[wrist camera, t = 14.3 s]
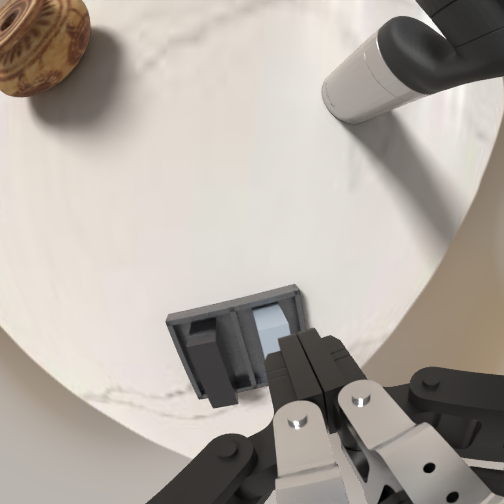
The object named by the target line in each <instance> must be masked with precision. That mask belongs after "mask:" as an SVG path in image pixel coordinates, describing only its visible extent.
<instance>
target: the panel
mask: <svg viewBox="0 0 504 504" xmlns="http://www.w3.org/2000/svg"><path fill="white" fill-rule="evenodd" d="M252 311H253V315H254V319H255V322H256V326H257V330H258V334H259V338H260V342H261V346H262V350H263V354H264V358H265V359H266V357H267V354H270V353H273V352H277V351H280V348H279V344H278V340H277V338H281V337H284V336H288V335H290V329H289V324H288V322H287V320H286V318H285V316H284V314H283V312H282V310H281V308H280V306H279V304H278V303H274V304H270V305H266V306H262V307H258V308H255V309H252Z"/></svg>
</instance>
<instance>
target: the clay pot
mask: <svg viewBox="0 0 504 504" xmlns="http://www.w3.org/2000/svg"><path fill="white" fill-rule="evenodd" d="M90 31H91V26H90V17H89V13H88V10H87V8H86V6H85V4H84V2H83V1H82V0H9V1H8V2H7V3H6V4H5V5H4V6H3V7H2V8H1V9H0V90H1V91H2V92H3V93H5V94H6V95H9V96H13V97H29V96H34V95H37V94H40V93H43V92H45V91H47V90H49V89H51V88H52V87H54V86H55V85H57V84H58V83H59V82H61V81H62V80H63V79H64V78H65V77H66V76H67V75H68V74H69V73H70V72H71V71H72V70H73V69H74V68H75V66H76V65H77V64H78V62H79V61H80V59H81V58H82V56H83V54H84V52H85V50H86V48H87V45H88V42H89V38H90Z"/></svg>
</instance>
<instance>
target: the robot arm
mask: <svg viewBox="0 0 504 504" xmlns="http://www.w3.org/2000/svg"><path fill="white" fill-rule="evenodd" d="M416 2H417V3H418V4H419V5H420V7H421V8H422V9H423V10H424V11H425V12H426V14H427V15H428V16H429V17H430V18H431V19H432V21H433V22H434V23H435V25H436V26H437V27H438V28H439V30H440V31H441V32H442V34H443V35H444V36H445V38H446V39H445V38H444V37H443V36H441V35H440V34H439V33H437V32H436V31H435V30H433V29H432V28H431V27H429V26H428V25H426V24H425V23H423V22H421V21H419V20H417V19H415V18H411V17H407V16H398V17H394V18H392V19H391V20H389V21H388V22H386V23H385V24H384V25H383V26H382V27H381V28H380V29H378V30H377V31H376V32H375V33H374V34H373V35H372V36H371V37H369V38H368V39H367V40H366V41H365V42H364V43H363V44H362V45H361V46H360V47H359V48H357V49H356V50H355V51H354V52H353V53H352V54H351V55H350V56H349V57H348V58H347V59H346V60H345V61H344V62H343V63H342V64H341V65H339V66H338V67H337V68H336V69H335V70H334V71H333V72H332V73H331V74H330V75H329V76H328V77H327V78H326V79H325V81H324V83H323V86H322V97H323V100H324V103H325V105H326V106H327V108H328V110H329V111H330V112H331V113H332V114H333V115H334V116H335V117H337V118H338V119H340V120H342V121H344V122H347V123H351V124H358V123H362V122H364V121H367V120H369V119H371V118H374V117H376V116H378V115H381V114H383V113H386V112H388V111H390V110H393V109H395V108H398V107H400V106H403V105H405V104H408V103H410V102H413V101H416V100H418V99H421V98H423V97H426V96H429V95H431V94H435V93H437V92H440V91H443V90H447V89H450V88H453V87H456V86H459V85H463V84H467V83H471V82H475V81H480V80H485V79H491V78H497V77H502V76H504V0H416ZM277 340H278V344H279V348H280V351H277V352H273V353H270V354H267V357H266V359H265V362H264V366H265V371H266V376H267V380H268V385H269V389H270V394H271V398H272V403H273V408H274V416H273V419H272V421H271V422H270V424H269V425H268V426H267V427H266V428H265V429H263V430H262V431H260V432H258V433H256V434H254V435H252V436H250V437H248V438H247V437H245V436H243V435H240V434H231V433H230V434H224V435H221V436H218V437H217V438H215V439H213V440H212V441H211V442H210V443H209V444H208V445H207V446H206V447H205V448H204V449H203V450H202V451H201V452H200V453H199V454H198V455H197V456H196V457H195V458H194V459H193V460H192V461H191V462H190V463H189V464H188V465H187V466H186V467H185V468H184V469H183V470H182V471H181V472H180V473H179V474H178V475H177V476H176V477H175V478H174V479H173V480H172V481H170V482H169V483H168V484H167V485H166V486H165V487H164V488H163V489H162V490H161V491H160V492H158V493H157V494H156V495H155V496H154V497H153V498H152V499H151V500H149V501H148V502H147V503H146V504H264V503H265V501H266V500H267V499H268V497H269V496H270V495H271V493H272V491H273V490H275V489H276V499H277V504H349V501H348V497H347V493H346V490H345V486H344V482H343V479H342V475H341V472H340V469H339V466H338V464H336V461H335V458H334V455H333V451H332V448H331V444H330V441H329V437H328V431H329V434H332V433H336V432H337V433H338V435H339V437H340V439H341V448H342V451H343V452H344V454H345V456H346V458H347V460H348V461H349V463H350V465H351V467H352V469H353V470H354V472H355V474H356V475H357V478H358V479H359V481H360V483H361V485H362V487H363V489H364V492H365V497H366V500H367V502H368V504H504V470H495V469H487V468H481V467H474V466H468V465H467V464H466V463H465V462H464V461H463V460H462V459H461V457H463V458H469V459H476V460H485V461H494V462H504V376H503V375H493V374H484V373H475V372H467V371H460V370H453V369H446V368H440V367H426V368H423V369H421V370H419V371H417V372H416V373H415V374H414V375H413V376H412V378H411V380H410V383H409V384H404V385H399V386H394V387H382V386H381V385H379V384H378V383H377V382H374V381H371V380H368V379H367V378H366V376H365V375H364V374H363V372H362V371H361V369H360V368H359V366H358V365H357V363H356V362H355V361H354V359H353V358H352V356H350V354H349V352H348V351H347V349H346V348H345V346H344V345H343V344H342V342H341V341H340V340H339V339H337V338H335V337H333V336H331V335H329V336H326V337H323V338H321V337H320V336H319V334H318V332H317V331H316V329H315V328H311V329H308V330H304V331H301V332H298V333H296V334H291V335H288V336H284V337H281V338H277ZM327 429H328V431H327Z"/></svg>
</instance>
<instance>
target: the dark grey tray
mask: <svg viewBox="0 0 504 504" xmlns="http://www.w3.org/2000/svg"><path fill="white" fill-rule="evenodd" d="M274 303H278V304H279V306H280V308H281V310H282V312H283V314H284V316H285V318H286V320H287V322H288V324H289V329H290V335H291V334H296V333H298V332H301V331H304V330H306V326H305V320H304V314H303V308H302V302H301V296H300V291H299V289H298V287H297V286H296V285H295V284H293V285H289V286H285V287H281V288H278V289H274V290H270V291H266V292H262V293H258V294H254V295H250V296H246V297H242V298H238V299H234V300H230V301H225V302H221V303H217V304H213V305H208V306H204V307H200V308H195V309H191V310H186V311H182V312H177V313H172V314H168V317H167V319H166V325H167V327H168V330H169V332H170V335H171V337H172V340H173V342H174V345H175V347H176V350H177V352H178V354H179V357H180V359H181V361H182V364H183V366H184V368H185V371H186V373H187V375H188V377H189V379H190V382H191V384H192V386H193V388H194V390H195V392H196V394H197V397H198V399H206V398H208V399H209V401H210V403H211V405H212V407H213V408H219V407H225V406H230V405H235V404H238V394H237V393H238V392H243V391H247V390H252V389H256V388H260V387H264V386H268V380H267V376H266V371H265V366H264V362H265V358H264V354H263V350H262V346H261V342H260V338H259V334H258V330H257V326H256V322H255V319H254V315H253V311H252V309H255V308H258V307H262V306H266V305H270V304H274Z"/></svg>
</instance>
